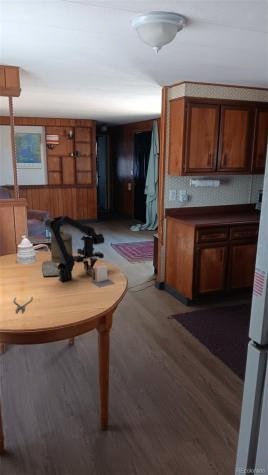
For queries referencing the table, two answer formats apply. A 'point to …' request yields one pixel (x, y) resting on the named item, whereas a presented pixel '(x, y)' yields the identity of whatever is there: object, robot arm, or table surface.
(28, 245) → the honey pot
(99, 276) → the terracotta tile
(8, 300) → the table surface
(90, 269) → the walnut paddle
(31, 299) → the pliers
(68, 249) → the wooden container
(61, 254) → the robot arm
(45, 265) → the stone slab
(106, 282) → the charcoal mat
